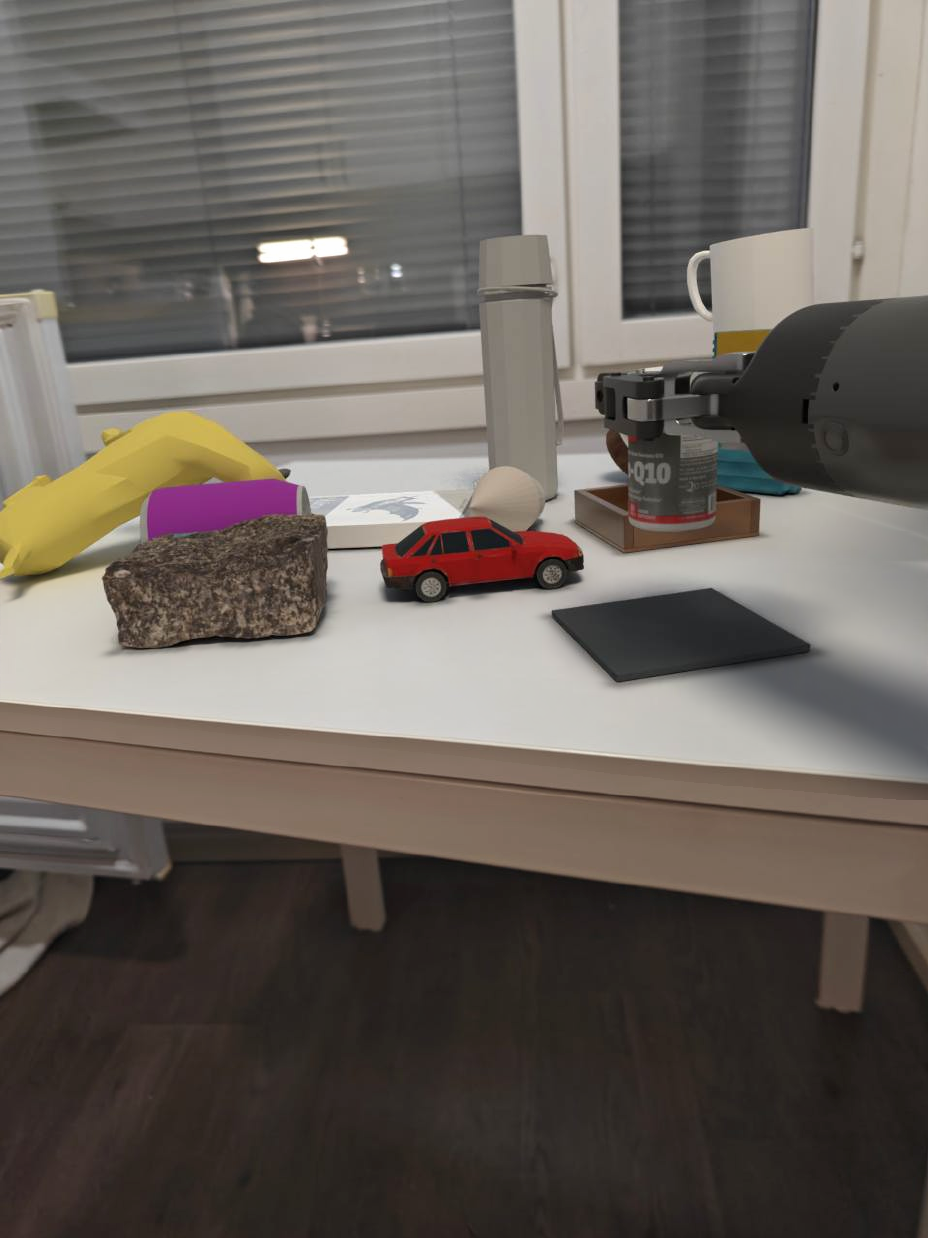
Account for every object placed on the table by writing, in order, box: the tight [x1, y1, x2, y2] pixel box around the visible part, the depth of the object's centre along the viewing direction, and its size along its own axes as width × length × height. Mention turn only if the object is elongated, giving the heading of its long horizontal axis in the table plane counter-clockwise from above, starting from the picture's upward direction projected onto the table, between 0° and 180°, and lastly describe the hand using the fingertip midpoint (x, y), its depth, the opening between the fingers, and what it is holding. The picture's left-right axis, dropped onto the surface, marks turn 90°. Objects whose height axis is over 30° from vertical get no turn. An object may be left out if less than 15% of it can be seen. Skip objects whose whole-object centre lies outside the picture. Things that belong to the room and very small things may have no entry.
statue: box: [0, 410, 288, 579], centre depth 74 cm, size 27×13×20 cm
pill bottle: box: [627, 365, 718, 532], centre depth 46 cm, size 5×5×8 cm
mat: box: [551, 587, 812, 683], centre depth 49 cm, size 11×11×1 cm
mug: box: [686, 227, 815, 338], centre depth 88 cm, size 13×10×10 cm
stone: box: [101, 513, 329, 649], centre depth 57 cm, size 11×13×6 cm
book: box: [308, 488, 475, 549], centre depth 79 cm, size 23×14×2 cm, turn 83°
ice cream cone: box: [470, 466, 546, 532], centre depth 72 cm, size 6×6×15 cm
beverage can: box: [139, 478, 311, 544], centre depth 66 cm, size 8×8×12 cm
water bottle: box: [475, 234, 565, 502], centre depth 85 cm, size 9×8×25 cm
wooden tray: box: [573, 483, 761, 554], centre depth 72 cm, size 12×12×3 cm
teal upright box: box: [711, 329, 803, 496], centre depth 81 cm, size 10×4×15 cm, turn 43°
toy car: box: [379, 516, 585, 603], centre depth 60 cm, size 6×14×5 cm, turn 98°
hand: (644, 388), depth 47 cm, fingers closed on pill bottle, 4 cm apart
